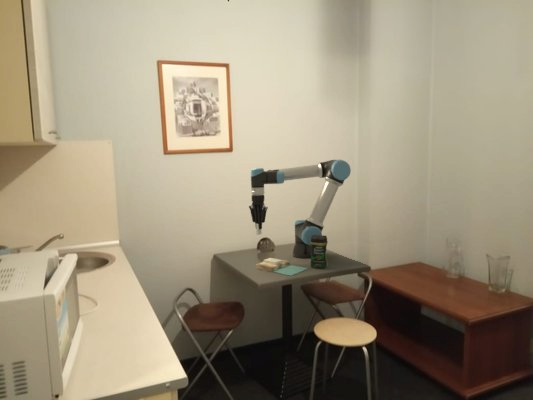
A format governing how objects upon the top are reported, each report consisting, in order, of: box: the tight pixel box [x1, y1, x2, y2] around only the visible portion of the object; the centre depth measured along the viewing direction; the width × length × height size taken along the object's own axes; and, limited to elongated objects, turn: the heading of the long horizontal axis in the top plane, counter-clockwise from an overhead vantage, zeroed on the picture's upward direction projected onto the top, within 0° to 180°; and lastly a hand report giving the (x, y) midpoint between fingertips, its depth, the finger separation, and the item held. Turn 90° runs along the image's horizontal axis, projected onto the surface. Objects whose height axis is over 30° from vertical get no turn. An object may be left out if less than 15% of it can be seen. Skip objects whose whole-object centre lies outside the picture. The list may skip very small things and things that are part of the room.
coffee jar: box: [310, 234, 328, 269], centre depth 230 cm, size 10×8×19 cm
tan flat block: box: [255, 258, 290, 273], centre depth 233 cm, size 16×12×2 cm
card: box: [263, 257, 283, 265], centre depth 233 cm, size 6×9×2 cm, turn 50°
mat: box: [272, 264, 309, 277], centre depth 225 cm, size 16×13×1 cm
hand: (258, 234), depth 238 cm, fingers closed
